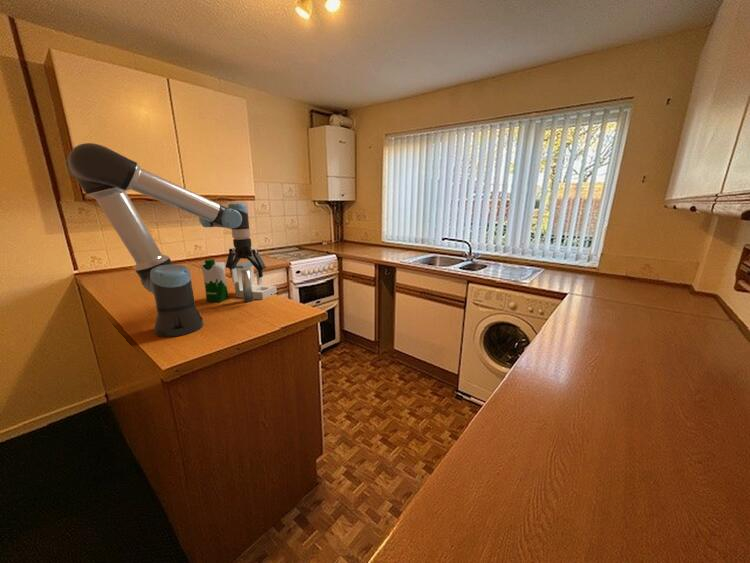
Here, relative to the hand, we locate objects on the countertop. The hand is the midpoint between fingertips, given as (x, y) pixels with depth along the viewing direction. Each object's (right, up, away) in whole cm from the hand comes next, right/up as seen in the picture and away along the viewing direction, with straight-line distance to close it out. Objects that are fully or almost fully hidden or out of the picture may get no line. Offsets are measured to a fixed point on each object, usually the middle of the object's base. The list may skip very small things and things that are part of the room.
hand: (247, 283), depth 141 cm
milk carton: (-16, -8, +4) cm, 19 cm away
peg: (0, -9, +2) cm, 9 cm away
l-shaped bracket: (-1, -6, +12) cm, 13 cm away
